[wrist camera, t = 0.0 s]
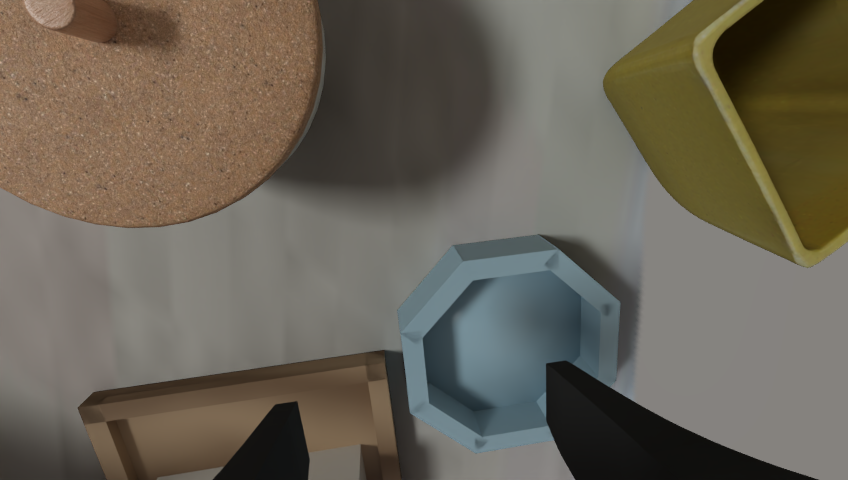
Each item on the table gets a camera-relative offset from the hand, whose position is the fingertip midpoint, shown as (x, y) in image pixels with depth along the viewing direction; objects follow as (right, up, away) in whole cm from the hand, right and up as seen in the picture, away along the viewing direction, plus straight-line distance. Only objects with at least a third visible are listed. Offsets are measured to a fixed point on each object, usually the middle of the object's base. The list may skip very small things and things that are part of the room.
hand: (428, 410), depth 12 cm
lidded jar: (-9, +13, +6) cm, 17 cm away
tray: (-9, -9, +12) cm, 17 cm away
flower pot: (+12, +12, +9) cm, 19 cm away
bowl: (+4, 0, +11) cm, 12 cm away
